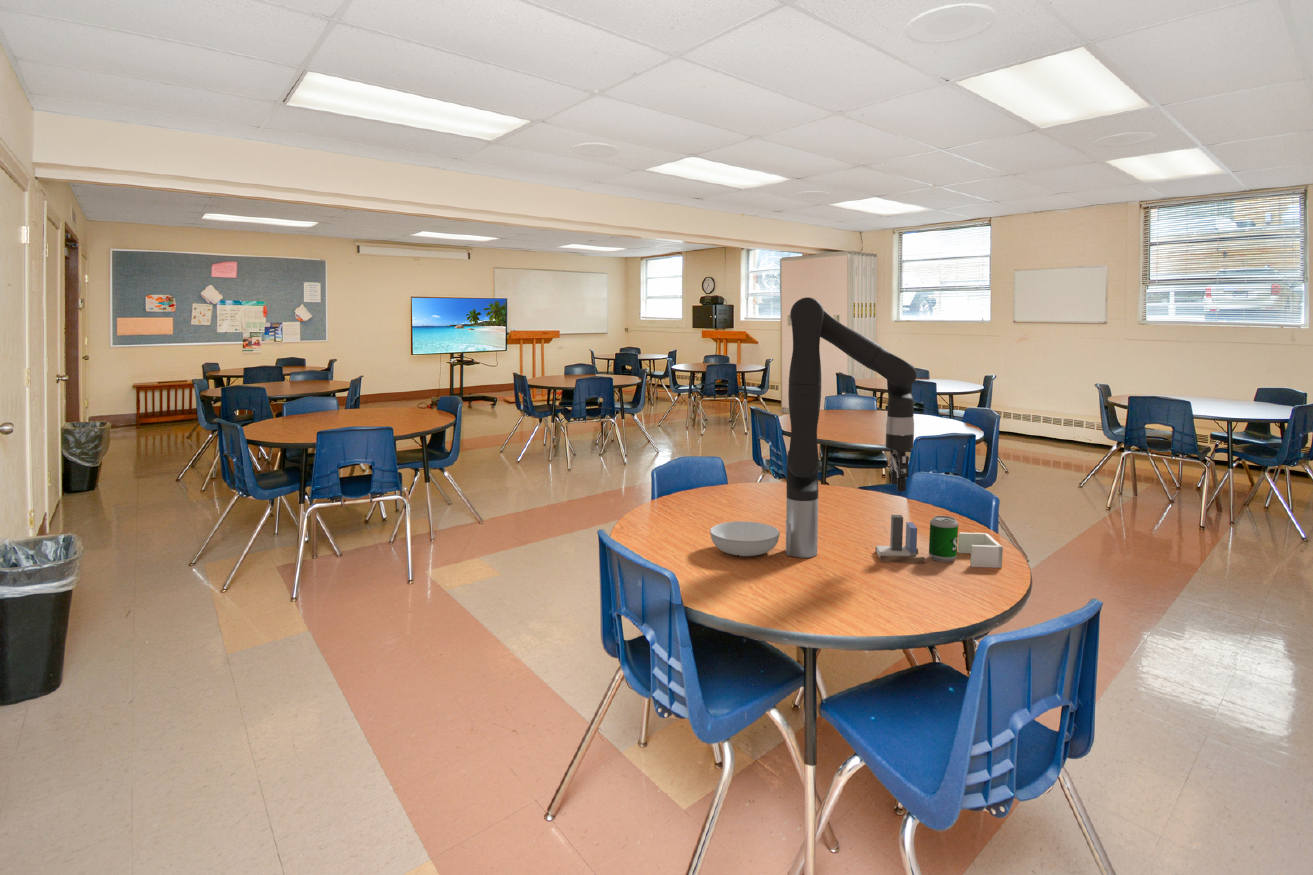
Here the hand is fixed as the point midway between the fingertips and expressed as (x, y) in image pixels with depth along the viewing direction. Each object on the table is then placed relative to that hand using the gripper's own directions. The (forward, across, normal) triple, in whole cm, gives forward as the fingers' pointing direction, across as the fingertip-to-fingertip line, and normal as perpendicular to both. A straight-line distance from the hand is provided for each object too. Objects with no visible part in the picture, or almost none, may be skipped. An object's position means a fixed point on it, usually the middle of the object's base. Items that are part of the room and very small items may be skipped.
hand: (898, 487), depth 193 cm
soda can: (+21, 0, +13) cm, 25 cm away
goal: (+21, 0, +23) cm, 31 cm away
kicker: (+21, 0, 0) cm, 21 cm away
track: (+21, 0, +1) cm, 21 cm away
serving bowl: (+21, -1, -44) cm, 49 cm away
